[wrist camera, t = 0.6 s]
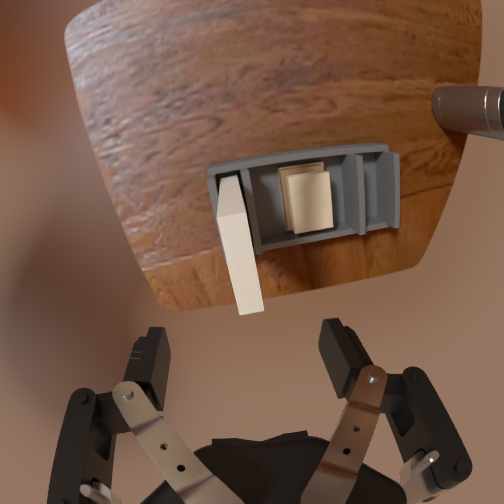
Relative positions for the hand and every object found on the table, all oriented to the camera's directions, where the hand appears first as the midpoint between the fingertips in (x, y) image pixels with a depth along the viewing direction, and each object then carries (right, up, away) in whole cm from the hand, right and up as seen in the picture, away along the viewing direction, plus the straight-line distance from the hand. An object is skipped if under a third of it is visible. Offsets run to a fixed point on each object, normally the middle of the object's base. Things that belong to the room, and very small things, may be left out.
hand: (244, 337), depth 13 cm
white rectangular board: (-2, +11, +29) cm, 31 cm away
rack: (+9, +14, +30) cm, 34 cm away
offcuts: (+8, +13, +29) cm, 33 cm away
